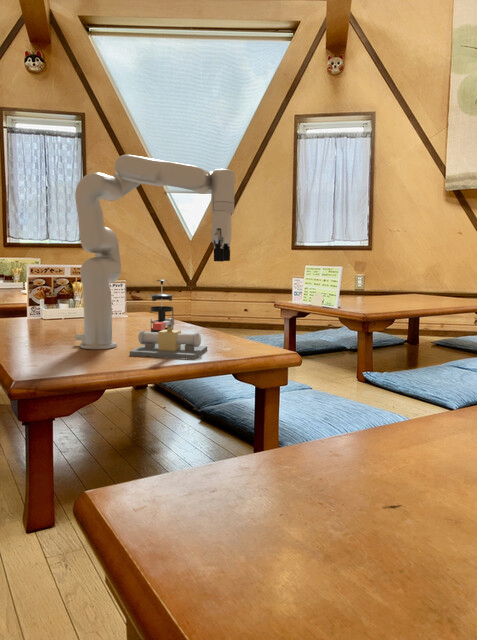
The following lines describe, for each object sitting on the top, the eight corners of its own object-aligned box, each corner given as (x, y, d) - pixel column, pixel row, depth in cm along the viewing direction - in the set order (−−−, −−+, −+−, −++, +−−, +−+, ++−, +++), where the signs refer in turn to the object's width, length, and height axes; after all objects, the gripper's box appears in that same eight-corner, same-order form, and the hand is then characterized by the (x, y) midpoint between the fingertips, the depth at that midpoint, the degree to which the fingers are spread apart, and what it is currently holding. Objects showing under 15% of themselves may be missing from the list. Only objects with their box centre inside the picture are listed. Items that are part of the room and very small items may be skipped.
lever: (166, 324, 178) (166, 318, 178) (175, 324, 178) (175, 318, 178) (152, 329, 165) (152, 323, 165) (161, 330, 165) (161, 323, 165)
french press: (175, 339, 206) (175, 280, 203) (151, 339, 204) (150, 280, 201) (171, 334, 218) (171, 278, 215) (148, 334, 215) (148, 278, 212)
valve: (129, 355, 172) (129, 327, 171) (147, 347, 188) (147, 321, 187) (194, 359, 168) (194, 330, 167) (207, 350, 184) (207, 324, 182)
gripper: (217, 210, 181) (217, 260, 184) (204, 206, 165) (204, 261, 167) (239, 210, 180) (238, 261, 182) (228, 206, 163) (227, 261, 165)
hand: (222, 261), depth 174 cm, fingers open, 9 cm apart
